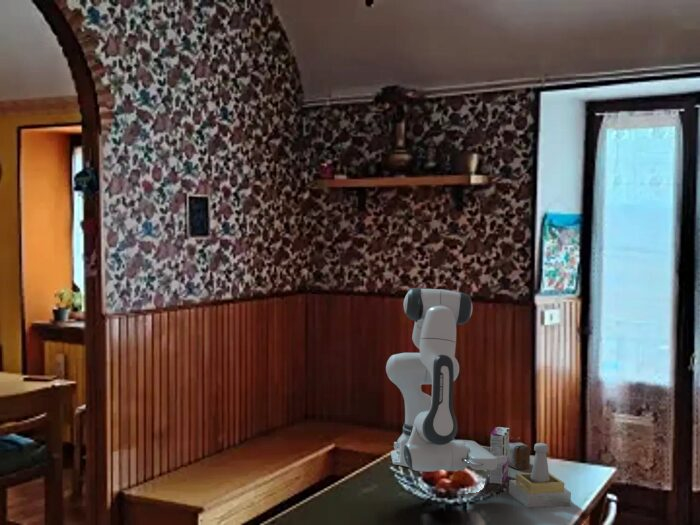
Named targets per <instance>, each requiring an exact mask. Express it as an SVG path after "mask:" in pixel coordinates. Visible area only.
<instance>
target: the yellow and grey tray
mask: <svg viewBox="0 0 700 525" xmlns="http://www.w3.org/2000/svg"><path fill="white" fill-rule="evenodd" d="M531 473H532V472H526V473H516V474H515V479H509V483H508V484H509V485H508V493H509V494H510V495H511V496H512V497H513V498H514V499H516V500H517V501H519V502H520V503H521V504H523V505H524V506H525V507H527V508H544V507H546V508H547V507H565V506H566V507H569V506H571V501H572V500H571V498H572V493H571V491H570V490H568V489H566V488H565V482H563V481H562V480H560V478H557V477H556V476H555V475H553V474H551V473H550V472H549V478H550V480H549V482H547V483H532V482H531V478H530V477H531Z"/></svg>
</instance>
